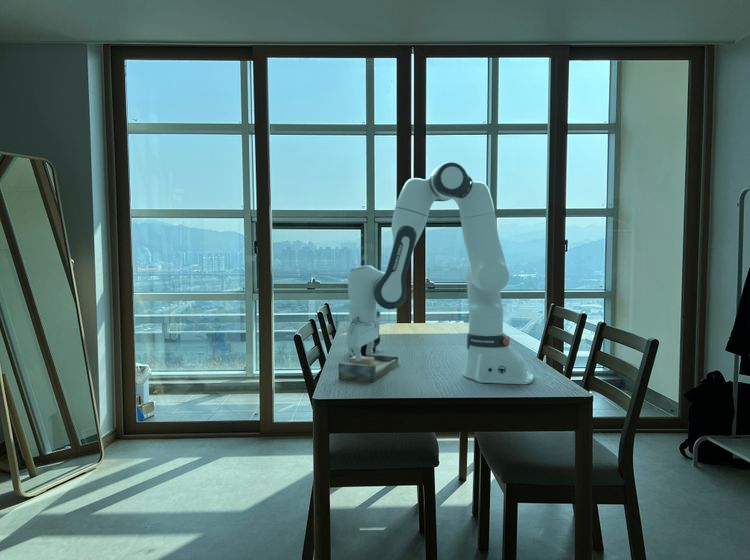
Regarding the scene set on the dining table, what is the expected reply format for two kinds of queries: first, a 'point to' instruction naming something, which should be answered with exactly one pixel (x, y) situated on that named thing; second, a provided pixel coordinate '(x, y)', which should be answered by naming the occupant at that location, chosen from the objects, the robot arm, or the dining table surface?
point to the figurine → (376, 343)
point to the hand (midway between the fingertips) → (364, 357)
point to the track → (368, 368)
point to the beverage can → (363, 351)
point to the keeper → (363, 360)
